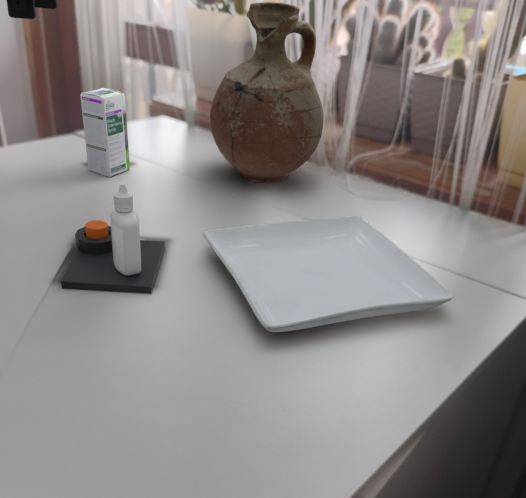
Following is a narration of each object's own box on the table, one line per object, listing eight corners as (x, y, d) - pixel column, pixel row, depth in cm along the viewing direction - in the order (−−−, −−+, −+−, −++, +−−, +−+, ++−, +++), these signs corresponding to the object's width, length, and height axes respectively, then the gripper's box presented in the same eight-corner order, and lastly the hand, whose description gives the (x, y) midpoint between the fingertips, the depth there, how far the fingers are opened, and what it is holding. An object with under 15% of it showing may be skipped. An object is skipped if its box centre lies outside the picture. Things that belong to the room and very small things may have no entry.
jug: (187, 167, 126) (187, -3, 109) (266, 150, 138) (277, -5, 121) (259, 202, 113) (272, 17, 96) (339, 180, 126) (363, 12, 109)
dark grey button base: (57, 288, 84) (54, 268, 82) (83, 241, 96) (81, 223, 94) (151, 294, 84) (150, 274, 83) (165, 246, 96) (165, 228, 95)
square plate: (199, 251, 96) (200, 227, 94) (357, 234, 105) (361, 212, 103) (263, 350, 76) (265, 323, 73) (451, 318, 85) (459, 293, 82)
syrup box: (110, 177, 118) (104, 97, 110) (86, 170, 121) (79, 91, 112) (130, 170, 122) (126, 92, 114) (107, 163, 125) (101, 86, 116)
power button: (83, 239, 91) (82, 228, 90) (88, 230, 93) (87, 219, 92) (106, 241, 91) (105, 229, 90) (110, 231, 93) (109, 220, 92)
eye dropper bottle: (107, 275, 85) (100, 190, 78) (116, 256, 90) (110, 175, 83) (139, 277, 85) (135, 193, 79) (146, 259, 90) (143, 177, 83)
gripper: (6, -152, 79) (26, 2, 89) (-51, -165, 65) (-20, 20, 75) (66, -147, 79) (79, 6, 89) (22, -159, 65) (44, 25, 75)
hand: (34, 12), depth 82 cm, fingers open, 9 cm apart
